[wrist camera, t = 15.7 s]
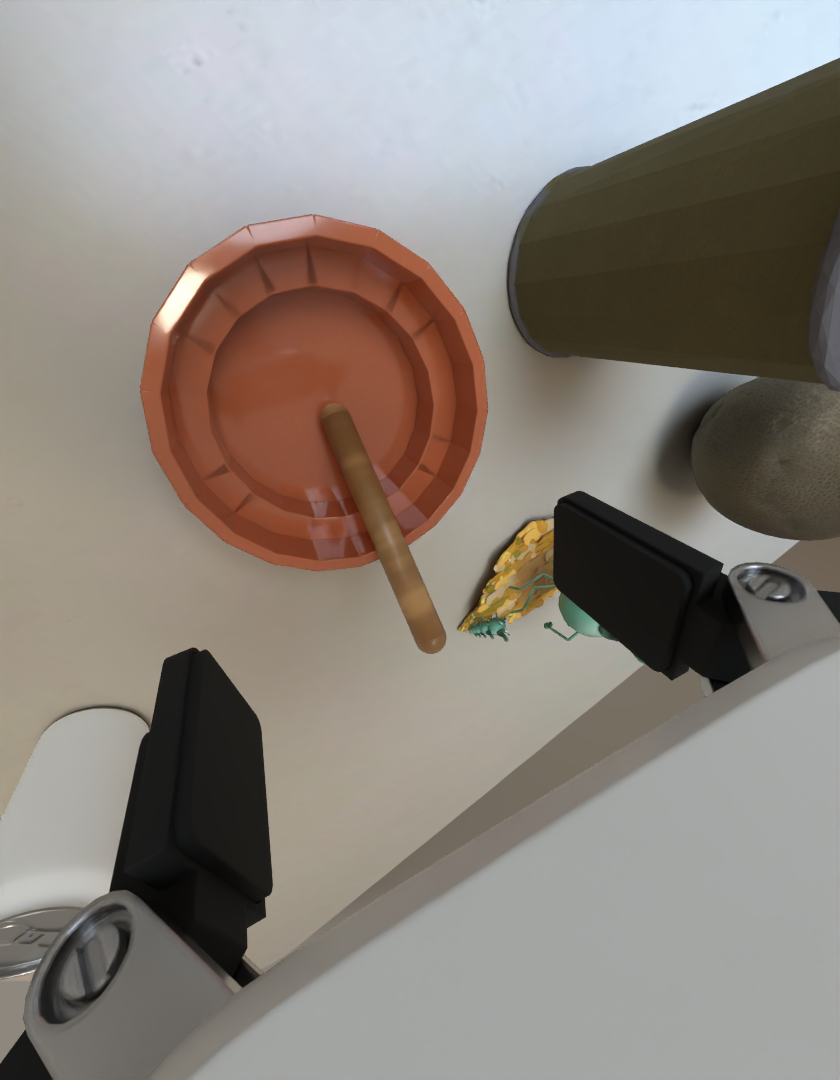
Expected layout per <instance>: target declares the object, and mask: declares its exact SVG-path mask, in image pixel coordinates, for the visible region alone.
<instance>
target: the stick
mask: <svg viewBox="0 0 840 1080" xmlns="http://www.w3.org/2000/svg"><path fill="white" fill-rule="evenodd" d="M320 421H321V425H322V427H323V429H324V431H325V434H326V436H327V438H328V441H329V443H330V445H331V448H332V450H333V452H334V455H335V457H336V459H337V462H338V464H339V466H340V468H341V471H342V473H343V475H344V478H345V480H346V482H347V485H348V487H349V489H350V492H351V494H352V496H353V499H354V501H355V503H356V506H357V508H358V510H359V512H360V515H361V517H362V519H363V522H364V524H365V526H366V529H367V531H368V533H369V536H370V538H371V540H372V543H373V545H374V547H375V549H376V552H377V554H378V556H379V559H380V561H381V563H382V566H383V568H384V570H385V573H386V575H387V577H388V580H389V582H390V584H391V587H392V589H393V591H394V593H395V596H396V598H397V600H398V603H399V605H400V607H401V610H402V612H403V614H404V617H405V619H406V621H407V624H408V626H409V628H410V630H411V633H412V635H413V637H414V640H415V642H416V644H417V646H418V648H419V649H420V650H421V651H423V652H425V653H428V654H434V653H437V652H439V651H440V650H441V649H442V648H443V647H444V645H445V643H446V633H445V630H444V628H443V625H442V623H441V621H440V618H439V616H438V614H437V612H436V609H435V607H434V605H433V602H432V600H431V598H430V596H429V593H428V591H427V589H426V586H425V584H424V582H423V580H422V577H421V575H420V573H419V571H418V568H417V566H416V564H415V561H414V559H413V557H412V555H411V552H410V550H409V548H408V545H407V543H406V541H405V539H404V536H403V534H402V532H401V529H400V527H399V525H398V523H397V520H396V518H395V516H394V513H393V511H392V509H391V507H390V504H389V502H388V500H387V497H386V495H385V493H384V491H383V488H382V486H381V484H380V481H379V479H378V477H377V475H376V472H375V470H374V468H373V465H372V463H371V461H370V459H369V456H368V454H367V452H366V449H365V447H364V445H363V443H362V440H361V438H360V436H359V433H358V431H357V429H356V427H355V424H354V422H353V420H352V417H351V415H350V413H349V411H348V410H347V408H346V407H344V406H343V405H341V404H338V403H331V404H328V405H326V406H325V407H324V408H323V410H322V411H321V414H320Z"/></svg>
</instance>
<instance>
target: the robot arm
mask: <svg viewBox="0 0 840 1080" xmlns="http://www.w3.org/2000/svg"><path fill="white" fill-rule="evenodd" d="M722 567H723V563H721V562H719V561H717V560H715V559H713V558H711V557H709V556H708V555H706V554H704V553H702V552H700V551H698V550H696V549H694V548H692V547H690V546H688V545H686V544H684V543H682V542H680V541H678V540H676V539H674V538H672V537H670V536H668V535H667V534H665V533H663V532H661V531H659V530H657V529H655V528H653V527H651V526H649V525H647V524H645V523H643V522H641V521H639V520H637V519H635V518H633V517H631V516H629V515H627V514H626V513H624V512H622V511H620V510H618V509H616V508H614V507H612V506H610V505H608V504H606V503H604V502H602V501H600V500H598V499H596V498H594V497H592V496H590V495H588V494H586V493H585V492H582V491H576V492H574V493H572V494H569V495H567V496H564V497H562V498H560V499H559V500H558V503H557V505H556V506H555V508H554V541H553V581H554V584H555V586H556V587H557V589H558V590H559V591H560V592H562V593H563V594H564V595H565V596H566V597H567V598H569V599H570V600H571V601H572V602H573V603H574V604H576V605H577V606H578V607H579V608H580V609H582V610H583V611H584V612H585V613H586V614H587V615H589V616H590V617H591V618H592V619H593V620H594V621H596V622H597V623H598V624H599V625H600V626H602V627H603V628H604V629H605V630H606V631H607V632H609V633H610V634H611V635H612V636H613V637H614V638H616V639H617V640H618V641H619V642H620V643H622V644H623V645H624V646H625V647H626V648H627V649H629V650H630V651H631V652H632V653H633V654H634V655H636V656H637V657H638V658H639V659H640V660H642V661H643V662H644V663H645V664H646V665H648V666H649V667H650V668H652V669H653V670H654V671H657V672H662V673H663V674H664V675H666V676H667V677H668V678H669V679H670V680H674V679H675V678H677V677H678V676H680V675H682V674H684V673H686V672H687V671H688V670H689V667H690V668H692V669H693V670H694V671H695V672H697V673H698V676H699V680H700V683H701V686H702V689H703V693H704V697H705V698H704V699H702V700H701V701H699V702H697V703H696V704H694V705H692V706H691V707H689V708H687V709H686V710H684V711H682V712H681V713H679V714H677V715H676V716H674V717H672V718H671V719H669V720H667V721H666V722H664V723H662V724H661V725H659V726H657V727H656V728H654V729H653V730H651V731H649V732H648V733H646V734H645V735H643V736H641V737H639V738H638V739H636V740H634V741H633V742H631V743H630V744H628V745H626V746H624V747H623V748H621V749H620V750H618V751H616V752H615V753H613V754H611V755H610V756H608V757H607V758H605V759H603V760H601V761H600V762H598V763H597V764H595V765H593V766H592V767H590V768H588V769H587V770H585V771H583V772H582V773H580V774H579V775H577V776H575V777H574V778H572V779H570V780H569V781H567V782H565V783H564V784H562V785H561V786H559V787H557V788H556V789H554V790H552V791H551V792H549V793H547V794H546V795H544V796H543V797H541V798H539V799H538V800H536V801H535V802H533V803H531V804H529V805H528V806H526V807H525V808H523V809H521V810H520V811H518V812H516V813H515V814H513V815H511V816H510V817H508V818H507V819H505V820H504V821H502V822H500V823H498V824H497V825H495V826H494V827H492V828H490V829H489V830H487V831H486V832H484V833H482V834H481V835H479V836H478V837H476V838H474V839H473V840H471V841H469V842H468V843H466V844H464V845H463V846H461V847H460V848H458V849H457V850H455V851H453V852H452V853H450V854H448V855H447V856H445V857H444V858H442V859H440V860H439V861H437V862H435V863H434V864H432V865H431V866H429V867H427V868H426V869H424V870H423V871H421V872H419V873H418V874H416V875H414V876H413V877H411V878H410V879H408V880H406V881H405V882H403V883H401V884H400V885H398V886H396V887H395V888H393V889H392V890H390V891H388V892H387V893H385V894H384V895H382V896H380V897H379V898H377V899H376V900H374V901H373V902H371V903H369V904H368V905H366V906H365V907H363V908H362V909H360V910H359V911H357V912H355V913H354V914H352V915H351V916H349V917H348V918H346V919H345V920H343V921H341V922H340V923H338V924H337V925H335V926H334V927H332V928H330V929H329V930H327V931H326V932H324V933H323V934H321V935H320V936H318V937H317V938H315V939H314V940H312V941H310V942H309V943H307V944H306V945H304V946H302V947H301V948H299V949H298V950H296V951H295V952H293V953H292V954H290V955H289V956H287V957H286V958H285V959H283V960H282V961H280V962H279V963H277V964H276V965H275V966H273V967H272V968H271V969H269V970H268V971H266V972H265V973H264V972H263V971H262V970H261V969H260V968H259V967H258V966H256V965H255V964H254V963H253V962H252V961H251V960H250V959H249V958H248V957H247V956H246V955H244V953H245V951H246V949H247V928H248V927H250V926H251V925H253V924H255V923H257V922H258V921H260V920H262V919H263V918H265V917H266V909H265V897H267V896H269V895H270V894H271V892H272V887H273V881H272V867H271V853H270V839H269V826H268V812H267V799H266V785H265V772H264V758H263V745H262V731H261V726H260V722H259V719H258V717H257V716H256V714H255V713H254V711H253V710H252V709H251V707H250V706H249V705H248V703H247V702H246V701H245V699H244V698H243V697H242V695H241V694H240V693H239V691H238V690H237V688H236V687H235V686H234V684H233V683H232V682H231V680H230V679H229V678H228V676H227V675H226V674H225V672H224V671H223V670H222V668H221V667H220V666H219V664H218V663H217V662H216V660H215V659H214V658H213V656H212V655H211V653H210V652H209V651H208V650H203V651H199V650H198V649H196V648H190V649H188V650H185V651H183V652H180V653H178V654H175V655H173V656H170V657H168V658H166V659H165V660H164V663H163V667H162V672H161V677H160V682H159V688H158V693H157V698H156V703H155V709H154V714H153V719H152V724H151V730H150V732H148V733H146V734H145V735H144V737H143V738H142V740H141V743H140V746H139V751H138V755H137V760H136V765H135V770H134V774H133V779H132V784H131V789H130V794H129V798H128V803H127V808H126V813H125V817H124V822H123V827H122V832H121V837H120V841H119V846H118V851H117V856H116V860H115V865H114V870H113V875H112V880H111V884H110V889H109V893H108V894H105V895H103V896H101V897H98V898H97V899H95V900H94V901H92V902H91V903H90V904H88V905H87V906H86V907H84V908H83V909H82V910H80V911H79V912H78V913H77V914H76V915H75V916H74V917H73V918H72V919H71V920H70V921H69V922H68V923H67V924H66V925H65V926H64V927H63V929H62V930H61V931H60V933H59V934H58V935H57V937H56V938H55V939H54V941H53V942H52V944H51V945H50V946H49V948H48V949H47V951H46V952H45V954H44V956H43V958H42V960H41V962H40V963H39V965H38V967H37V969H36V971H35V973H34V975H33V978H32V981H31V984H30V987H29V989H28V992H27V995H26V999H25V1008H24V1016H23V1020H24V1024H25V1028H26V1030H25V1031H24V1032H23V1034H22V1035H21V1036H20V1038H19V1039H18V1041H17V1042H16V1043H15V1045H14V1046H13V1047H12V1049H11V1050H10V1051H9V1053H8V1054H7V1055H6V1057H5V1058H4V1059H3V1061H2V1062H1V1064H0V1080H840V593H837V592H828V591H818V590H816V589H815V588H814V586H813V585H812V584H811V583H810V582H809V581H808V580H807V579H806V578H804V577H803V576H801V575H800V574H798V573H796V572H794V571H792V570H789V569H787V568H784V567H781V566H777V565H773V564H768V563H759V562H755V563H744V564H740V565H737V566H736V567H734V568H732V569H731V571H730V573H729V575H728V576H727V575H725V574H723V573H722V572H721V570H722Z"/></svg>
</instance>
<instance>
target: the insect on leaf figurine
mask: <svg viewBox="0 0 840 1080" xmlns="http://www.w3.org/2000/svg"><path fill="white" fill-rule="evenodd" d="M553 541H554V519H553V518H550V519H546V520H545V521H544V520H537V521H531V522H530V523H529V524H528V525H527V526H526V527H525V528H524V529H523V530H522V531H521V532H520V533H518V535H517V536H516V538H515V540H514V542H513V543H512V544H511V545H510V546H509V547H508V548H507V549H506V551H504V552H503V553H502V555H501V556H500V558H499V560H498V561H497V563H496V565H495V566H494V571H496V576H494V577H493V578H492V579H491V580H490V581H489V582H488V583H487V585H486V586H487V587H485V588H484V589H483V593H484V594H483V595H482V596H481V600H479V601H478V606H477V607H476V608H475V610H473V611H472V612H470V614H469V615H468V616H467V617H466V618H465V620H464V622H463V623H462V625H461V626H460V627H459V631H463V632H464V631H466V630H469V631H470V633H471V634H474V635H475V636H476V637H477V635H479V637H481V635H483V636H484V637H485V638H486V635H485V634H487V635H490V637H491V638H492V639H494V637H493V635H492V634H494V635H499V636H501V637H503V639H504V640H505V641H506V642H508V641H509V640H508V638H507V637H506V635H505V634H504V633H507V630H505V628H506V626H505V623H506V622H505V621H504V620H506V618H505V617H506V616H507V615H508V616H509V617H510V618H509V622H508V623H510V624H511V623H512V622H513V620H515V619H518V618H519V617H520V616H524V615H526V614H527V613H529V612H530V611H531V610H533V609H534V608H536V607H540V606H542V605H543V603H544V601H545V600H547V599H548V598H550V597H552V596H553V595H554V594H555V593H556V592H558V591H559V590H558V589H557V587H556V586H555V584H554V581H553ZM491 576H492V575H491ZM559 609H560V612H561V614H562V616H563V618H564V620H565V622H566V623H567V625H568V626H570V627H571V628H573V629H574V630H575V631H577V632H576V633H575V634H573V635H572V636H571V637H570V638H569V639H567V638H566V637H565V636H563V635H562V634H560V633H559V632H557V631H556V630H554V629H553V628H551V627H552V622H549V623H545V624H544V627H545V629H548V628H549V629H551V630H552V631H554V632H555V633H556V634H558V635H559V636H561V637H562V638H564V639H565V640H567V641H570V640H571V639H573V638H574V637H575V636H576V635H577V634H578V633H580V634H583V635H585V636H589V637H602V636H603V637H605V638H607V639H610V640H615V641H618V640H617V639H616V638H614V637H613V636H612V635H611V634H610V633H609V632H607V631H606V630H605V629H604V628H603V627H602V626H600V625H599V624H598V623H597V622H596V621H594V620H593V619H592V618H591V617H590V616H589V615H587V614H586V613H585V612H584V611H583V610H582V609H580V608H579V607H578V606H577V605H576V604H574V603H573V602H572V601H571V600H570V599H569V598H567V597H566V596H565V595H564V594H563V593H562V592H561V594H560V597H559ZM494 613H496V617H497V618H493V619H490V616H491V618H492V614H494ZM499 617H500V618H499ZM503 618H504V619H503ZM491 633H492V634H491ZM476 634H477V635H476ZM480 634H481V635H480ZM508 635H509V634H508ZM634 656H635V657H636V658H637V659H638V660H639V661H640V662H641V663H643V664H645V663H644V662H643V661H642V660H640V659H639V658H638V657H637V656H636V655H634Z"/></svg>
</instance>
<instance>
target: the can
mask: <svg viewBox="0 0 840 1080" xmlns="http://www.w3.org/2000/svg"><path fill="white" fill-rule="evenodd" d="M148 732H149V728H148V726H147V724H146V723H145V722H144V721H143V720H142V719H141V718H140V717H139V716H137V715H136V714H134V713H132V712H130V711H127V710H124V709H119V708H112V707H99V708H90V709H85V710H81V711H77V712H74V713H72V714H69V715H67V716H65V717H63V718H61V719H59V720H58V721H56V722H55V723H53V724H52V725H51V726H50V727H49V728H48V729H47V730H46V731H45V732H44V733H43V734H42V736H41V738H40V739H39V741H38V743H37V745H36V747H35V749H34V751H33V753H32V755H31V758H30V760H29V762H28V764H27V766H26V768H25V770H24V772H23V774H22V776H21V778H20V781H19V783H18V785H17V787H16V789H15V791H14V793H13V795H12V797H11V800H10V802H9V804H8V806H7V808H6V810H5V812H4V814H3V816H2V819H1V821H0V980H2V979H8V978H13V977H18V976H22V975H25V974H29V973H32V972H35V971H36V969H37V967H38V965H39V963H40V962H41V960H42V958H43V956H44V954H45V952H46V951H47V949H48V948H49V946H50V945H51V944H52V942H53V941H54V939H55V938H56V937H57V935H58V934H59V933H60V931H61V930H62V929H63V927H64V926H65V925H66V924H67V923H68V922H69V921H70V920H71V919H72V918H73V917H74V916H75V915H76V914H77V913H78V912H79V911H80V910H82V909H83V908H84V907H86V906H87V905H88V904H90V903H91V902H92V901H94V900H95V899H97V898H98V897H101V896H103V895H105V894H108V893H109V889H110V884H111V880H112V875H113V870H114V865H115V860H116V856H117V851H118V846H119V841H120V837H121V832H122V827H123V822H124V817H125V813H126V808H127V803H128V798H129V794H130V789H131V784H132V779H133V774H134V770H135V765H136V760H137V755H138V751H139V746H140V743H141V740H142V738H143V737H144V735H145V734H146V733H148Z"/></svg>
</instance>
